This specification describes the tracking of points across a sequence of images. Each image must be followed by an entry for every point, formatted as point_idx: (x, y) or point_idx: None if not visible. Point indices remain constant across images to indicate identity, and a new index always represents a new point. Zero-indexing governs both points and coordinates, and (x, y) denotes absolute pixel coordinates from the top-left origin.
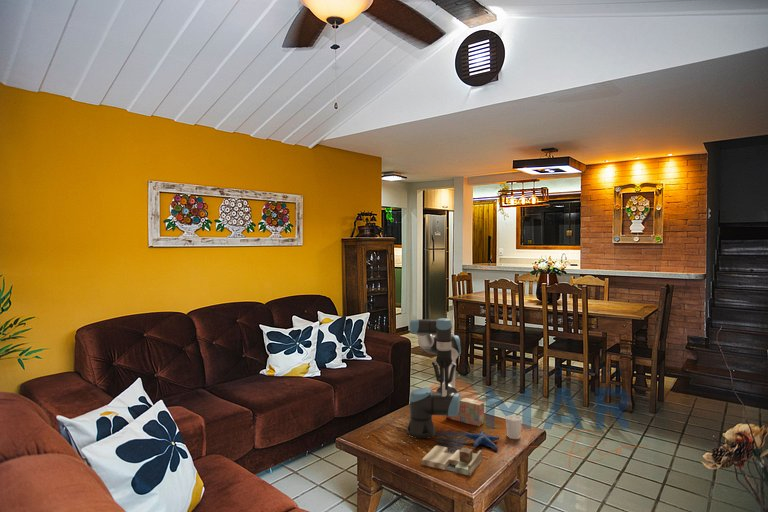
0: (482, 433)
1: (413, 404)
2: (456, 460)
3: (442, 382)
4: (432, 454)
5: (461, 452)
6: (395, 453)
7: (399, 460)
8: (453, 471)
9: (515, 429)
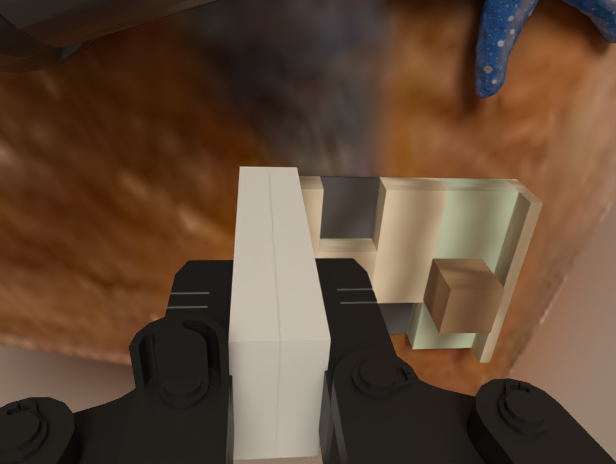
0: None
1: None
2: (407, 300)
3: (231, 454)
4: None
5: (448, 330)
6: (64, 298)
7: None
8: (398, 333)
9: None
